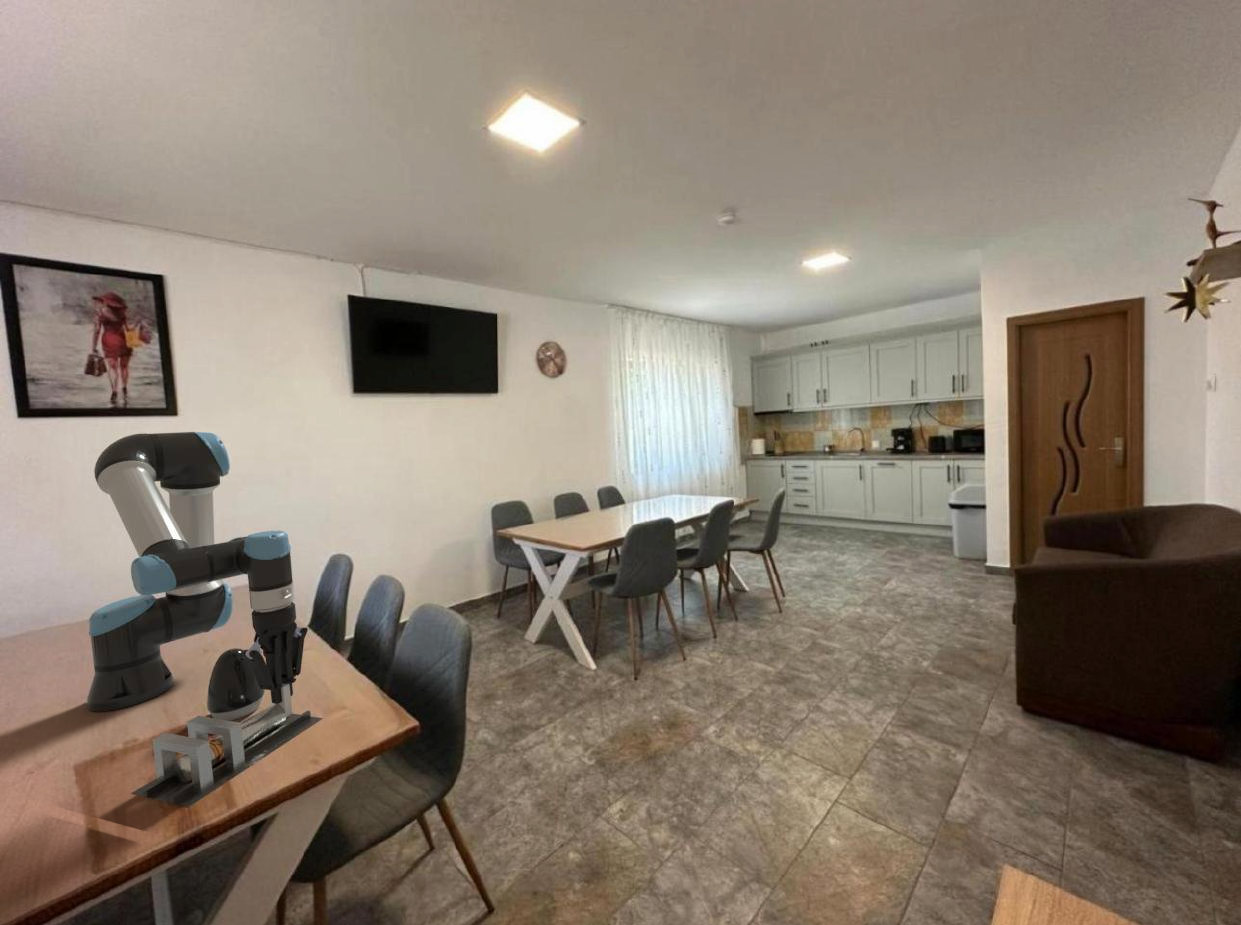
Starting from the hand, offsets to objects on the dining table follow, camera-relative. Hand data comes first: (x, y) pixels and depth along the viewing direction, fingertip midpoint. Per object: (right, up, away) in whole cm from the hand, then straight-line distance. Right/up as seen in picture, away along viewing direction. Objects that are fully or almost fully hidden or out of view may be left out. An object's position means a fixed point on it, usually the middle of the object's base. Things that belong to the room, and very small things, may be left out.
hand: (284, 714), depth 106 cm
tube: (-3, -2, -9) cm, 10 cm away
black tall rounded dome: (-14, -3, +6) cm, 15 cm away
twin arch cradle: (-3, -4, -9) cm, 10 cm away
